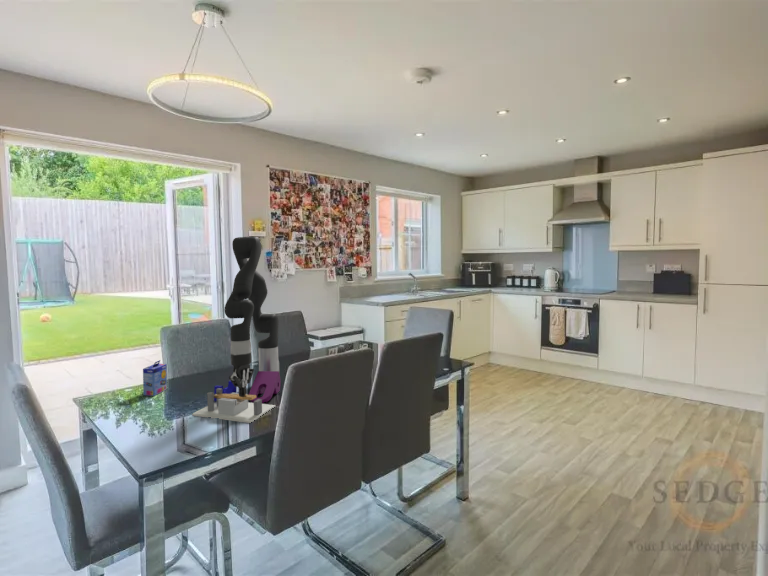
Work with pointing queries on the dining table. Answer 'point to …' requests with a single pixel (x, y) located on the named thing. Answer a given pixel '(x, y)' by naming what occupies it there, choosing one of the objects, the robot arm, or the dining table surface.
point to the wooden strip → (234, 396)
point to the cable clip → (226, 389)
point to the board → (237, 417)
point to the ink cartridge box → (154, 379)
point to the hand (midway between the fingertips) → (242, 396)
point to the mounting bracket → (266, 385)
